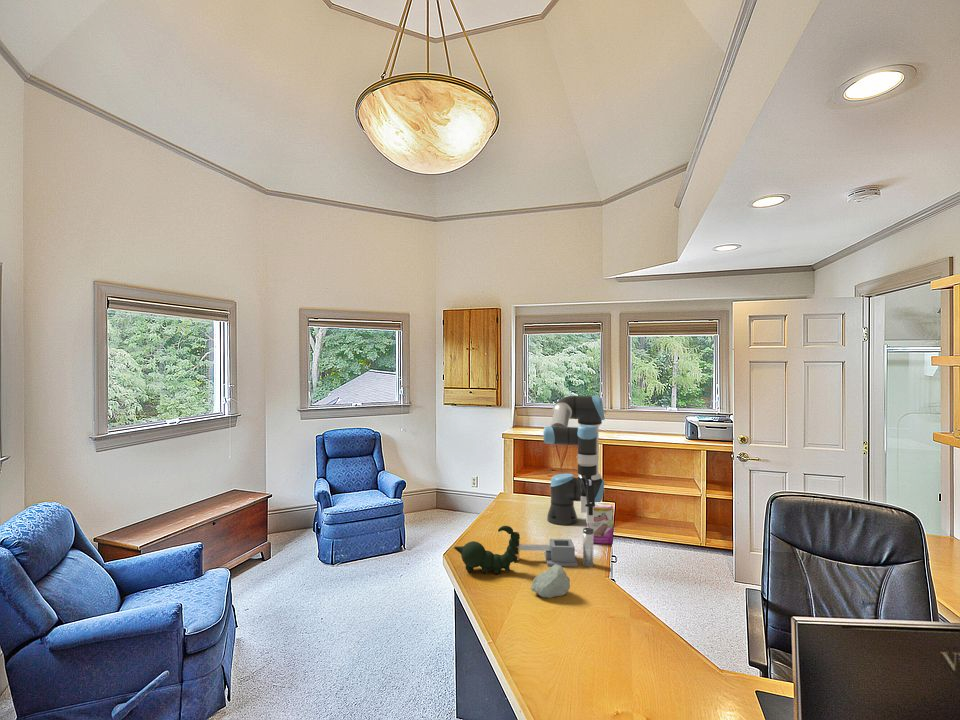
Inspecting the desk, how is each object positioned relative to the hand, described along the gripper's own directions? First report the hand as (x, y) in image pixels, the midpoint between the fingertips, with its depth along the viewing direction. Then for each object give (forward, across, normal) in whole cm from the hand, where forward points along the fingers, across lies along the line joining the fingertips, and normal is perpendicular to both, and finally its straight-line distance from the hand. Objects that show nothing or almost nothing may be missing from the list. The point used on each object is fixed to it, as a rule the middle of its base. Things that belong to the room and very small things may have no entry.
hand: (587, 517), depth 195 cm
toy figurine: (+19, +8, -40) cm, 45 cm away
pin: (+19, -4, -22) cm, 29 cm away
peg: (+19, 0, 0) cm, 19 cm away
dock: (+19, -4, -10) cm, 22 cm away
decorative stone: (+19, +25, -17) cm, 36 cm away
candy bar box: (+19, -25, +10) cm, 33 cm away
